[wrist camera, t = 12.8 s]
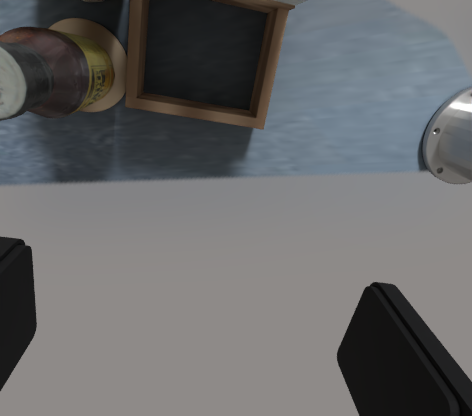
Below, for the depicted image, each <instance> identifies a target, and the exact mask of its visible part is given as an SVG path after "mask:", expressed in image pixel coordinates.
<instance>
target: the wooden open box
mask: <svg viewBox="0 0 472 416" xmlns="http://www.w3.org/2000/svg"><path fill="white" fill-rule="evenodd" d="M211 1H215V2H220V3H224V4H229V5H233V6H237V7H242V8H246V9H251V10H255V11H260V12H264V13H268V14H267V19H266V24H265V29H264V35H263V40H262V45H261V50H260V56H259V61H258V66H257V71H256V76H255V82H254V87H253V92H252V97H251V103H250V108H249V110H244V109H238V108H232V107H226V106H221V105H215V104H209V103H203V102H197V101H192V100H186V99H180V98H174V97H168V96H162V95H157V94H151V93H145V92H143V90H144V75H145V60H146V44H147V29H148V13H149V0H130V11H129V33H128V56H127V78H126V100H125V107H128V108H134V109H141V110H147V111H153V112H159V113H165V114H171V115H177V116H184V117H190V118H196V119H202V120H208V121H214V122H221V123H227V124H233V125H239V126H245V127H251V128H257V129H264V124H265V120H266V115H267V110H268V106H269V101H270V96H271V91H272V87H273V82H274V77H275V73H276V68H277V63H278V59H279V54H280V49H281V45H282V40H283V35H284V31H285V26H286V21H287V16H288V12H289V10H291V9H294V8H295V5H291V4H287V3H282V2H278V1H274V0H211Z"/></svg>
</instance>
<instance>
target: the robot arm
mask: <svg viewBox="0 0 472 416" xmlns="http://www.w3.org/2000/svg"><path fill="white" fill-rule="evenodd" d="M422 151H423V159H424V162H425V165H426V167H427V168H428V170H429V171H430V172H431V173H432V174H433V175H434V176H435V177H437V178H439V179H440V180H442V181H445V182H447V183H452V184H465V183H470V182H472V87H470V88H467V89H465V90H463V91H460V92H459V93H457V94H456V95H454V96H453V97H451V98H450V99H449V100H448V101H446V102H445V103H444V104H443V105H442V106H441V107H440V109H439V110H438V111H437V112H436V113H435V115H434V116H433V118H432V120H431V121H430V123H429V125H428V127H427V130H426V132H425V136H424V139H423V148H422ZM33 278H34V277H33V261H32V250H31V247H30V246H26V245H25V242H24V241H23V240H21V239H16V238H7V237H0V391H1V389H2V388H3V386H4V384H5V383H6V381H7V380H8V378H9V376H10V375H11V373H12V371H13V370H14V368H15V366H16V365H17V363H18V362H19V360H20V358H21V357H22V355H23V354H24V352H25V350H26V349H27V347H28V345H29V344H30V342H31V341H32V339H33V337H34V334H35V331H36V324H37V323H36V307H35V292H34V279H33ZM337 361H338V364H339V367H340V369H341V372H342V374H343V377H344V379H345V382H346V384H347V387H348V389H349V391H350V394H351V396H352V399H353V401H354V403H355V406H356V408H357V411H358V413H359V416H472V382H471V380H470V379H469V378H468V377H467V375H466V374H465V373H464V371H463V370H462V369H461V368H460V366H459V365H458V364H457V363H456V361H455V360H454V359H453V358H452V356H451V355H450V354H449V353H448V351H447V350H446V349H445V348H444V346H443V345H442V344H441V342H440V341H439V340H438V339H437V337H436V336H435V335H434V334H433V332H432V331H431V330H430V329H429V327H428V326H427V325H426V324H425V322H424V321H423V320H422V318H421V317H420V316H419V315H418V313H417V312H416V311H415V310H414V308H413V307H412V306H411V304H410V303H409V302H408V301H407V299H406V298H405V297H404V296H403V294H402V293H401V292H400V291H399V289H398V288H397V287H396V286H395V285H393V284H386V283H378V282H374V283H372V284H371V285H370V286H368V287H366V288H365V290H364V291H363V294H362V296H361V298H360V301H359V303H358V306H357V308H356V310H355V313H354V315H353V317H352V319H351V322H350V324H349V326H348V329H347V331H346V333H345V336H344V338H343V340H342V342H341V345H340V347H339V349H338V352H337Z"/></svg>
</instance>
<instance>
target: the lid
mask: <svg viewBox="0 0 472 416" xmlns="http://www.w3.org/2000/svg"><path fill="white" fill-rule="evenodd" d="M274 1H278V2H282V3H287V4H291V5H298V4H300V3H302V2H305V1H307V0H274Z"/></svg>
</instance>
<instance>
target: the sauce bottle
mask: <svg viewBox="0 0 472 416" xmlns="http://www.w3.org/2000/svg"><path fill="white" fill-rule="evenodd" d="M114 78H115V72H114V68H113V63H112V61H111V59H110V57H109V55H108V53H107V52H106V50H104V49H103V48H102V47H101V46H100V45H99V44H98V43H97V42H95V41H94V40H92V39H89V38H86V37H83V36H79V35H75V34H70V33H65V32H61V31H57V30H52V29H47V28H36V27H19V28H16V29H12V30H9V31H7V32H5V33H4V34H2V35H0V121H1V120H5V119H11V118H15V117H17V116H19V115H22V114H23V113H25V112H26V111H29V112H32V113H35V114H38V115H40V116H43V117H46V118H62V117H65V116H68V115H70V114H72V113H74V112H76V111H78V110H81V109H83V108H85V107H87V106H89V105H91V104H93V103H95V102H97V101H99V100H101V99H102V98H104V97H105V96H106V95H107V94H108V93H109V91H110V90H111V88H112V86H113V82H114Z"/></svg>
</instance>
